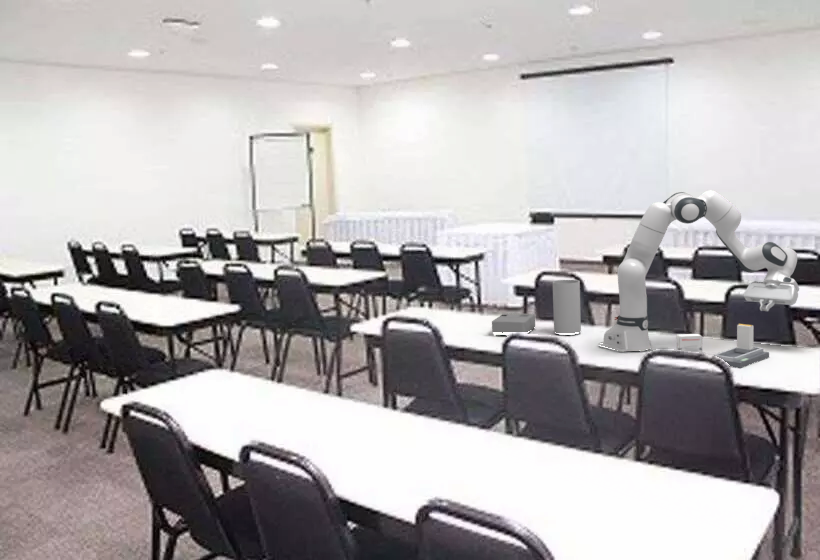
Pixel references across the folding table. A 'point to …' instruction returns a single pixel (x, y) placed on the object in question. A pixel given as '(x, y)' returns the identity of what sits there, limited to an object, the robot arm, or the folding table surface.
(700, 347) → the ink box
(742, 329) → the fader knob
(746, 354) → the fader console
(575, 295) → the cylinder vase
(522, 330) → the projector
